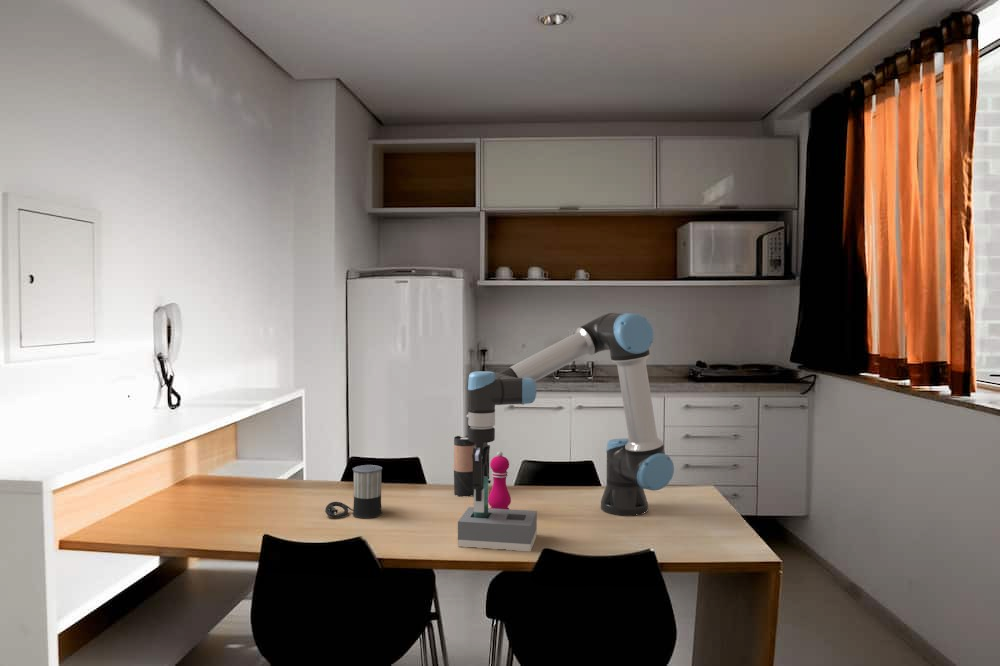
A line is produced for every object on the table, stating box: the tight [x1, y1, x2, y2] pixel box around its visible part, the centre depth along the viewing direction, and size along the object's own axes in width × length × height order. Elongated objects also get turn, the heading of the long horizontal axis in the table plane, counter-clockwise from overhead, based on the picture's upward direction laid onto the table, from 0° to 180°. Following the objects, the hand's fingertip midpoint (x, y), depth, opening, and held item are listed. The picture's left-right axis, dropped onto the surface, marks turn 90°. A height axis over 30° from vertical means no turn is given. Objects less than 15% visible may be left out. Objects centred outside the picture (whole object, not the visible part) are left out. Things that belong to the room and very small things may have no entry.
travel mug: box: [453, 435, 475, 497], centre depth 244 cm, size 8×8×20 cm
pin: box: [474, 476, 489, 518], centre depth 196 cm, size 4×4×15 cm
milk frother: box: [324, 464, 383, 519], centre depth 219 cm, size 14×16×15 cm
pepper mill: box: [488, 450, 512, 509], centre depth 221 cm, size 7×7×20 cm
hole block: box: [457, 506, 538, 553], centre depth 196 cm, size 20×14×7 cm
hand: (481, 509), depth 197 cm, fingers open, 4 cm apart
